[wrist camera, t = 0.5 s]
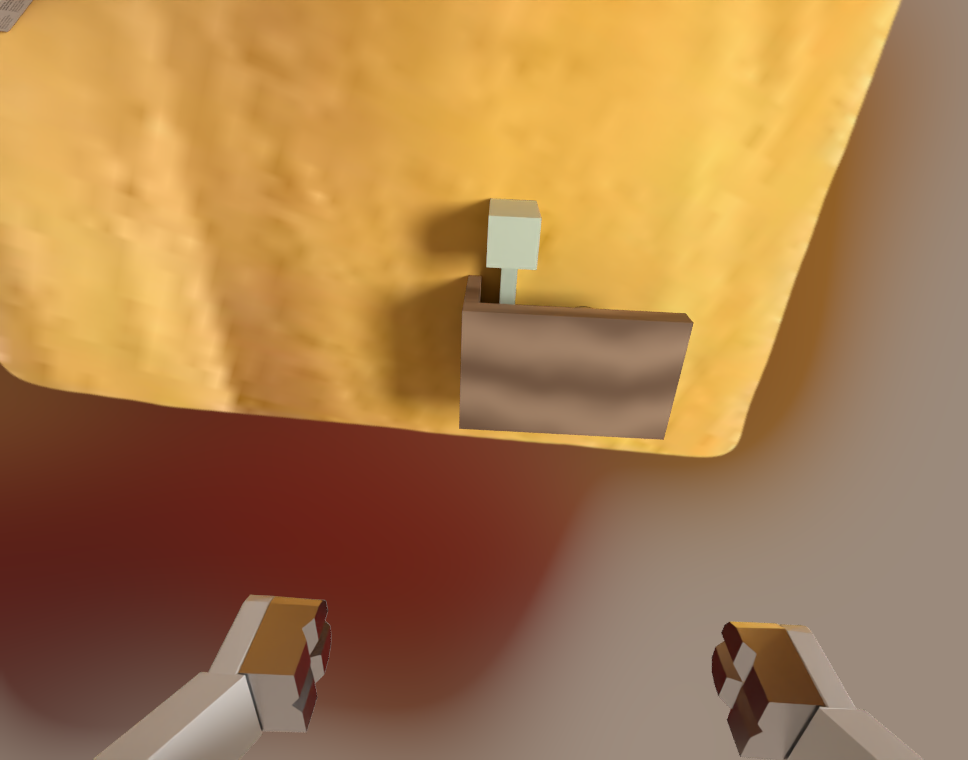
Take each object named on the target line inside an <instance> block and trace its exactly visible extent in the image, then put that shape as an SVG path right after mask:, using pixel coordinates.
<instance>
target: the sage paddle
mask: <svg viewBox="0 0 968 760" xmlns="http://www.w3.org/2000/svg"><path fill="white" fill-rule="evenodd" d="M540 229H541V215H540V212H539V208H538V205H537V201H531V200H512V199H492V198H491V199H490V208H489V219H488V241H487V262H486V267H491V268H501V280H500V297H499V304H513V305H515V295H516V282H517V269H530V270H537V261H538V250H539V239H540Z"/></svg>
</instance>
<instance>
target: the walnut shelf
mask: <svg viewBox="0 0 968 760" xmlns="http://www.w3.org/2000/svg"><path fill="white" fill-rule="evenodd" d="M480 300H481V276H474V275H469V276H468V282H467V287H466V293H465V298H464V304H463V309H462V339H461V380H460V421H459V429H476V430H495V431H514V432H532V433H551V434H569V435H588V436H606V437H625V438H643V439H662V440H664V436H665V432H666V428H667V425H668V421H669V417H670V413H671V409H672V405H673V401H674V397H675V393H676V389H677V385H678V382H679V378H680V374H681V370H682V366H683V362H684V358H685V354H686V350H687V346H688V342H689V338H690V335H691V331H692V327H693V322H692V321H691V319H690V318H689V317H688V316H687V314H685V313H666V312H647V311H628V310H609V309H590V308H570V307H551V306H532V305H513V304H494V303H480Z"/></svg>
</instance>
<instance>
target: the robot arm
mask: <svg viewBox="0 0 968 760" xmlns="http://www.w3.org/2000/svg"><path fill="white" fill-rule="evenodd" d="M327 612H328V608H327V604H326V600H314V599H302V598H288V597H276V596H260V595H250V596H249V597H248V598H247V599H246V600H245V602H244V603H243V605H242V607H241V609H240V611H239V613H238V615H237V617H236V619H235V620H234V623H233V625H232V626H231V628H230V630H229V632H228V634H227V636H226V638H225V640H224V642H223V644H222V646H221V648H220V650H219V652H218V654H217V656H216V658H215V660H214V662H213V664H212V666H211V668H210V670H209V672H200V673H199V674H198V675H197V676H195V677H194V678H193V679H192V680H190V681H189V682H188V683H187V684H185V685H184V686H183V687H182V688H181V689H179V690H178V691H177V692H176V693H174V694H173V695H172V696H171V697H169V698H168V699H167V700H166V701H164V702H163V703H162V704H161V705H159V706H158V707H157V708H156V709H155V710H153V711H152V712H151V713H150V714H148V715H147V716H146V717H145V718H144V719H142V720H141V721H140V722H138V723H137V724H136V725H135V726H134V727H132V728H131V729H130V730H129V731H127V732H126V733H125V734H124V735H122V736H121V737H120V738H119V739H117V740H116V741H115V742H114V743H112V744H111V745H110V746H109V747H108V748H106V749H105V750H104V751H103V752H101V753H100V754H99V755H98V756H96V757H95V758H94V759H93V760H240V759H241V758H242V757H243V755H244V754H245V753H246V752H247V751H248V750H249V749H250V748H251V746H252V745H253V744H254V743H255V742H256V741H257V740H258V738H259V737H260V736H261V735H262V731H273V732H274V731H276V732H307V729H308V726H309V723H310V719H311V716H312V713H313V710H314V707H315V703H316V700H317V692H316V686H315V683H316V682H317V681H318V680H319V679H320V678H321V677H322V676H323V675H324V674H325V670H326V666H327V663H328V660H329V653H330V648H331V627H330V625H329V624H328V623H327V622H326V621H325V619H326V616H327ZM721 633H722V635H723V638H724V642H722V643H720V644H719V645H717V646H716V647H715V650H714V652H713V655H712V675H713V680H714V684H715V687H716V690H717V693H718V696H719V697H720V698H721V699H722V701H723V702H724V703H726V704H727V706H729V708H730V712H729V715H728V718H727V722H728V724H729V727H730V730H731V733H732V736H733V739H734V741H735V744H736V747H737V749H738V752H739V755H740V757H746V758H758V759H770V760H924V759H923V758H921V757H920V756H919V755H918V754H917V753H915V752H914V751H913V750H912V749H911V748H910V747H908V746H907V745H906V744H905V743H903V742H902V741H901V740H900V739H899V738H898V737H896V736H895V735H894V734H893V733H892V732H890V731H889V730H888V729H887V728H886V727H884V726H883V725H882V724H881V723H880V722H879V721H877V720H876V719H875V718H874V717H872V716H871V715H870V714H869V713H868V712H867V711H865V710H864V709H856V707H855V706H854V704H853V702H852V701H851V699H850V697H849V695H848V694H847V692H846V690H845V689H844V687H843V685H842V683H841V682H840V680H839V678H838V676H837V675H836V673H835V671H834V669H833V668H832V666H831V664H830V662H829V661H828V659H827V657H826V655H825V654H824V652H823V650H822V648H821V647H820V645H819V643H818V642H817V640H816V638H815V636H814V635H813V633H812V631H811V630H810V629H808V628H807V627H806V626H802V625H782V624H780V625H779V624H776V623H753V622H728V623H727V624H725V625H724V628H723V630H722V632H721Z"/></svg>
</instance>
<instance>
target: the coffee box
mask: <svg viewBox="0 0 968 760" xmlns="http://www.w3.org/2000/svg"><path fill="white" fill-rule="evenodd" d="M31 2H32V0H0V31H5V32H8V31H9V30H10V29H11V28H12V26H13V25H14V24H15V23H16V21H17V20H18V19H19V17H20V16H21V15H22V14H23V12H24V11H25V10H26V8H27V7H28V6H29V4H30V3H31Z"/></svg>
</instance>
